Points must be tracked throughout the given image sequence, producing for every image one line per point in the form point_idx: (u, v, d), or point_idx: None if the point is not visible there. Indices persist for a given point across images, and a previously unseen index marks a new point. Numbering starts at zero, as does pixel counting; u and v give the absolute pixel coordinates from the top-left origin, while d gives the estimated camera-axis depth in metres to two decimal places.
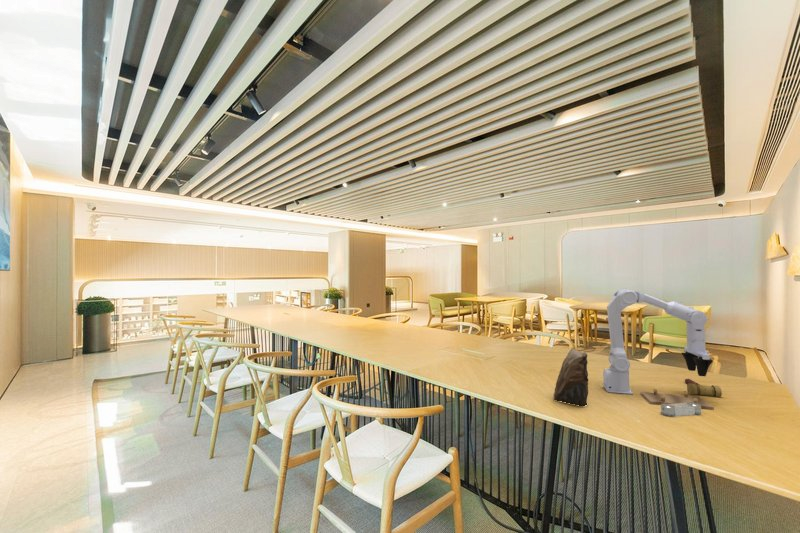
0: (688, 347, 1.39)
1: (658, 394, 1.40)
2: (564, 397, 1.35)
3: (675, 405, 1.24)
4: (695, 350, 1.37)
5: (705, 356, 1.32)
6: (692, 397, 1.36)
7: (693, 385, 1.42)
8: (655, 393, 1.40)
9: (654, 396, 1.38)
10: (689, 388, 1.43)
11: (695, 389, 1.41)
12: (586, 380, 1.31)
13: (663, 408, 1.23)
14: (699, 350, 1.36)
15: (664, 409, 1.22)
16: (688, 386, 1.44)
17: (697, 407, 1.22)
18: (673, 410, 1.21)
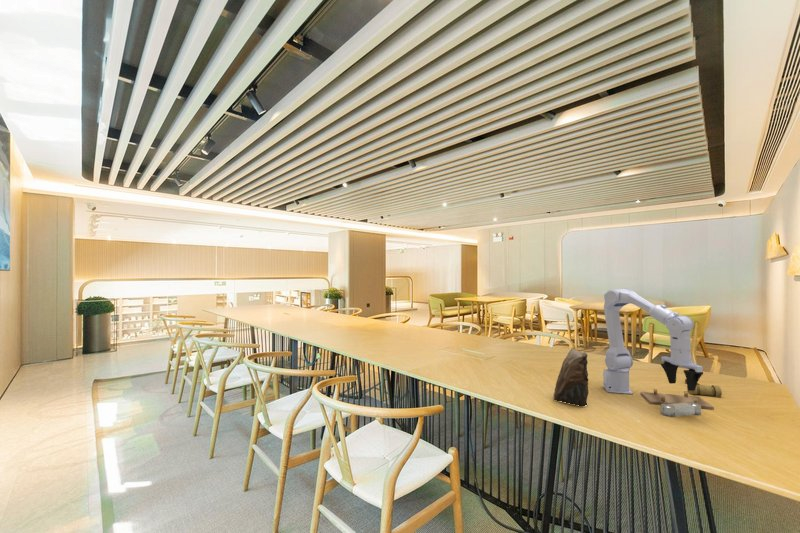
0: (674, 358, 1.24)
1: (658, 394, 1.40)
2: (564, 397, 1.35)
3: (675, 405, 1.24)
4: (683, 361, 1.22)
5: (699, 368, 1.18)
6: (692, 397, 1.36)
7: None
8: (655, 393, 1.40)
9: (654, 396, 1.38)
10: None
11: (695, 389, 1.41)
12: (586, 380, 1.31)
13: (663, 408, 1.23)
14: (687, 361, 1.22)
15: (664, 409, 1.22)
16: None
17: (697, 407, 1.22)
18: (673, 410, 1.21)
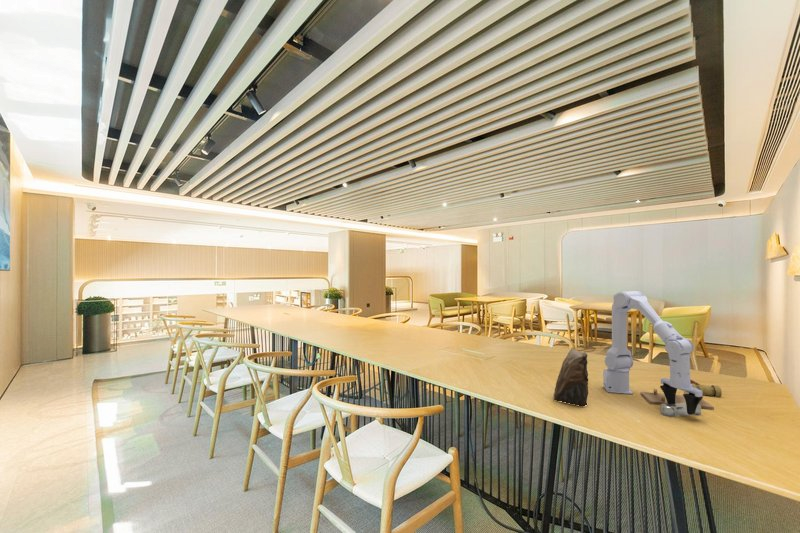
0: (674, 381, 1.23)
1: (658, 394, 1.40)
2: (564, 397, 1.35)
3: (675, 405, 1.24)
4: (683, 385, 1.21)
5: (699, 393, 1.17)
6: None
7: (693, 385, 1.43)
8: (655, 393, 1.40)
9: (654, 396, 1.38)
10: None
11: None
12: (586, 380, 1.31)
13: (663, 408, 1.23)
14: (687, 385, 1.21)
15: (664, 409, 1.22)
16: None
17: (697, 407, 1.22)
18: (673, 410, 1.21)
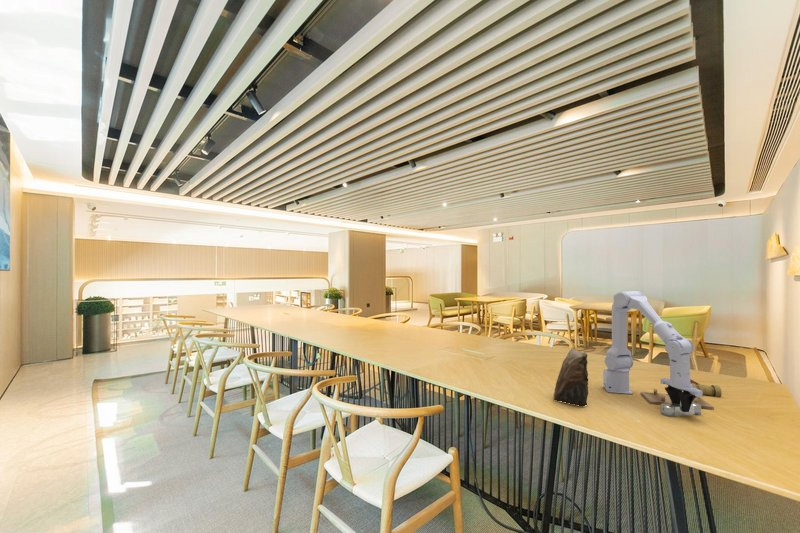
0: (674, 381, 1.23)
1: (658, 394, 1.40)
2: (564, 397, 1.35)
3: (675, 404, 1.24)
4: (683, 385, 1.21)
5: (699, 393, 1.17)
6: None
7: (693, 385, 1.43)
8: (655, 393, 1.40)
9: (654, 396, 1.38)
10: None
11: None
12: (586, 380, 1.31)
13: (663, 407, 1.23)
14: (687, 385, 1.21)
15: (664, 408, 1.22)
16: None
17: (697, 407, 1.22)
18: (673, 410, 1.21)
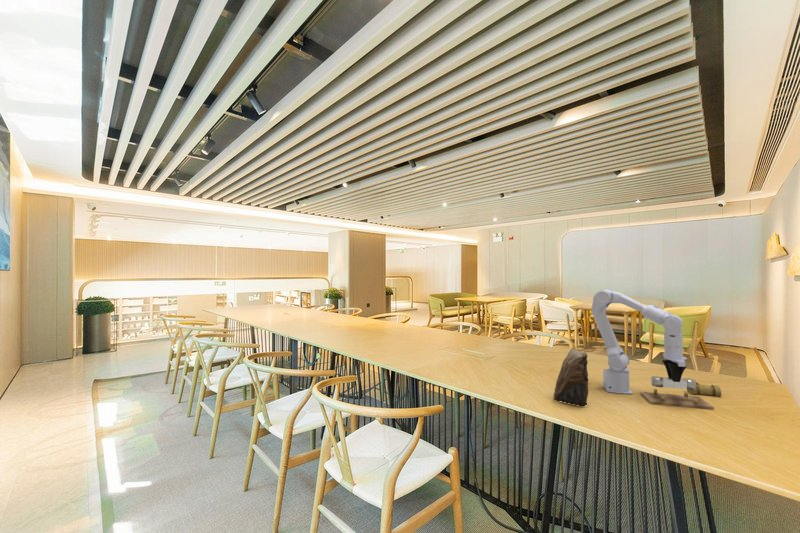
0: (665, 353, 1.36)
1: (658, 394, 1.40)
2: (564, 397, 1.35)
3: (666, 378, 1.36)
4: (672, 357, 1.33)
5: (681, 363, 1.29)
6: (692, 397, 1.36)
7: None
8: (655, 393, 1.40)
9: (654, 396, 1.38)
10: None
11: None
12: (586, 380, 1.31)
13: (651, 378, 1.37)
14: (676, 357, 1.33)
15: (652, 379, 1.37)
16: None
17: (689, 382, 1.32)
18: (660, 381, 1.35)
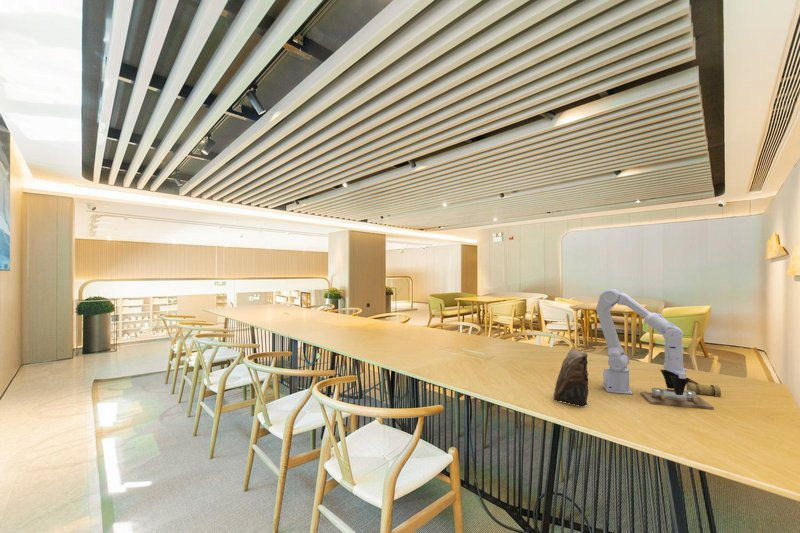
0: (666, 365, 1.36)
1: None
2: (564, 397, 1.35)
3: (667, 390, 1.36)
4: (672, 368, 1.33)
5: (681, 375, 1.29)
6: None
7: (692, 384, 1.43)
8: None
9: None
10: (688, 387, 1.44)
11: (694, 388, 1.42)
12: (586, 380, 1.31)
13: (652, 390, 1.37)
14: (676, 368, 1.33)
15: (652, 391, 1.37)
16: (687, 385, 1.45)
17: (690, 394, 1.32)
18: (660, 393, 1.35)
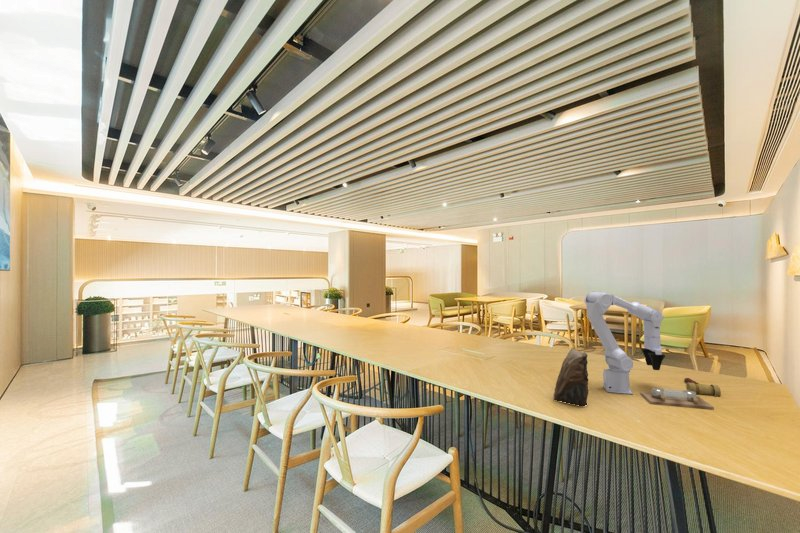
0: (645, 343, 1.50)
1: None
2: (564, 397, 1.35)
3: (667, 390, 1.36)
4: (650, 346, 1.48)
5: (657, 351, 1.43)
6: None
7: (692, 384, 1.43)
8: None
9: None
10: (688, 387, 1.44)
11: (694, 388, 1.42)
12: (586, 380, 1.31)
13: (652, 390, 1.37)
14: (654, 346, 1.47)
15: (652, 391, 1.37)
16: (687, 385, 1.45)
17: (690, 394, 1.32)
18: (660, 393, 1.35)
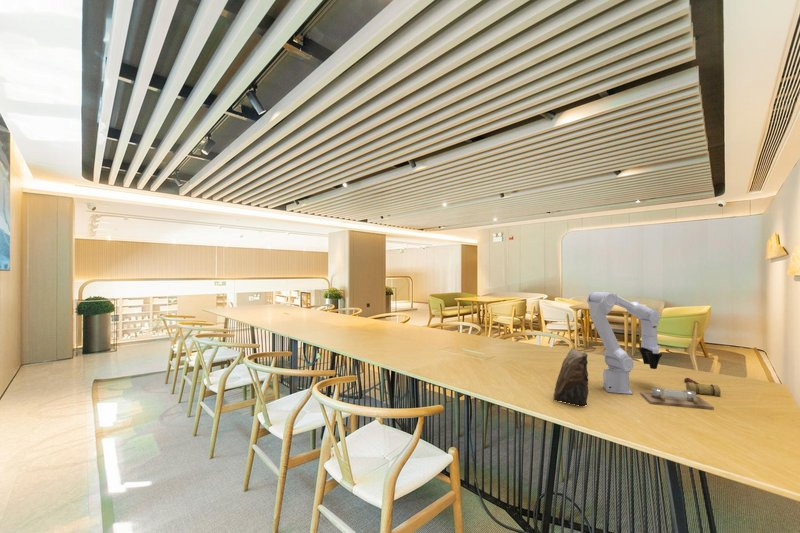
0: (642, 342, 1.52)
1: None
2: (564, 397, 1.35)
3: (667, 390, 1.36)
4: (647, 345, 1.50)
5: (655, 350, 1.45)
6: None
7: (692, 384, 1.43)
8: None
9: None
10: (688, 387, 1.45)
11: (694, 388, 1.42)
12: (586, 380, 1.31)
13: (652, 390, 1.37)
14: (651, 345, 1.49)
15: (652, 391, 1.37)
16: (687, 385, 1.45)
17: (690, 394, 1.32)
18: (660, 393, 1.35)
